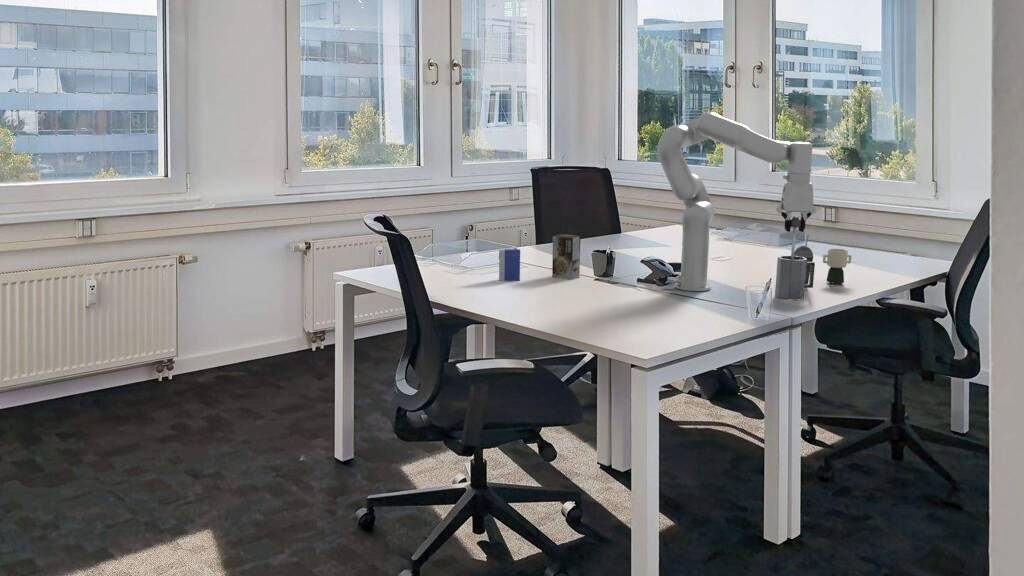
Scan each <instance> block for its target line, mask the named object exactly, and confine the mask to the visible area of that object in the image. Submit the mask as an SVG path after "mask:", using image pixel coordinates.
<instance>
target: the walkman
mask: <svg viewBox="0 0 1024 576" xmlns="http://www.w3.org/2000/svg"><path fill="white" fill-rule="evenodd" d="M498 251H499V252H498V260H499V261H498V267H499V269H498V281H499V282H500V281H501V282H505V281H506V282H507V281H509V282H517V281H518V282H520V280H521V249H520V248H518V247H517V248H516V247H515V248H510V249H509V248H499V250H498Z"/></svg>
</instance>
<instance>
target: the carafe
mask: <svg viewBox="0 0 1024 576" xmlns="http://www.w3.org/2000/svg"><path fill="white" fill-rule="evenodd" d="M776 261H777V262H776V274H775V287H774V289H775V291H774V297H776V298H777V297H778V298H777V299H781V298H783V299H782V300H787V299H800V300H802V298H803V299H805V291H806V289H809V288H810V289H812V288H813V287H814V278H815V266H816V264H815V263H816V262H815V261H812V262H807V259H806V258H804V257H799V256H794V260H791V255H780V256H777V259H776ZM807 265H811V267H810V275H809V281H808V284H805V281H806V268H807ZM805 288H806V289H805Z"/></svg>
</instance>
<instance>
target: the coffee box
mask: <svg viewBox="0 0 1024 576" xmlns="http://www.w3.org/2000/svg"><path fill="white" fill-rule="evenodd" d="M580 262H581V235H575V234H563V233H562V234H556V235H553V236H552V265H551V266H552V267H551V268H552V269H551V270H552V271H551V272H552V273H551V276H552V278H558V279H568V280H574V279H577V278H580V273H581V272H580V271H581V270H580V268H581V267H580V266H581V263H580Z"/></svg>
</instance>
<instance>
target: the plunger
mask: <svg viewBox="0 0 1024 576" xmlns="http://www.w3.org/2000/svg"><path fill="white" fill-rule="evenodd" d="M800 219H801V218H800ZM800 219H799V217H798V216H793V217H792V218H790V220H791V228H792V239H791V252H790V254H791V255H790V256H791V260H794V252H795V250H796V248H795V247H796V235H797V234H796V233H797V228H799V227H801V220H800Z"/></svg>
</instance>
